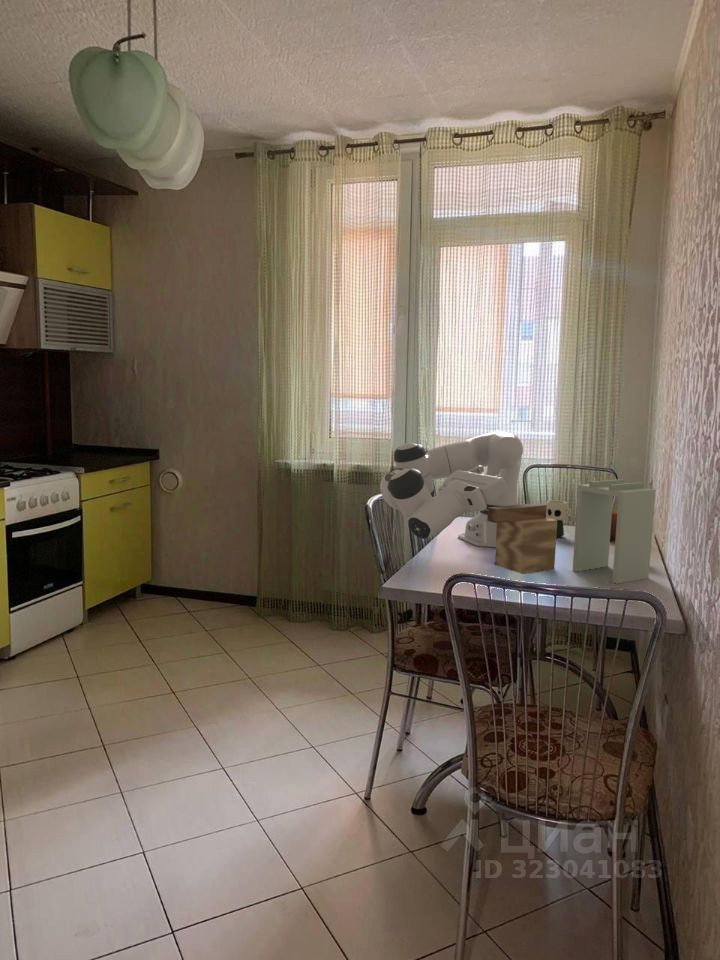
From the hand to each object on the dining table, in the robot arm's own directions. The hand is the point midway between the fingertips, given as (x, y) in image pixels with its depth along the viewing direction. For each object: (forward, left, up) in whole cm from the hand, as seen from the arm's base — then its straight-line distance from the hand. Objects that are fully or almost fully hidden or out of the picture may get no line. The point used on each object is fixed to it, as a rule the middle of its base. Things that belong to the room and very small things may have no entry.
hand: (493, 469), depth 203 cm
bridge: (+14, +35, -31) cm, 49 cm away
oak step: (-4, +18, -31) cm, 36 cm away
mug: (-19, +77, -31) cm, 85 cm away
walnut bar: (-4, +14, -16) cm, 22 cm away
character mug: (-32, +61, -31) cm, 75 cm away
